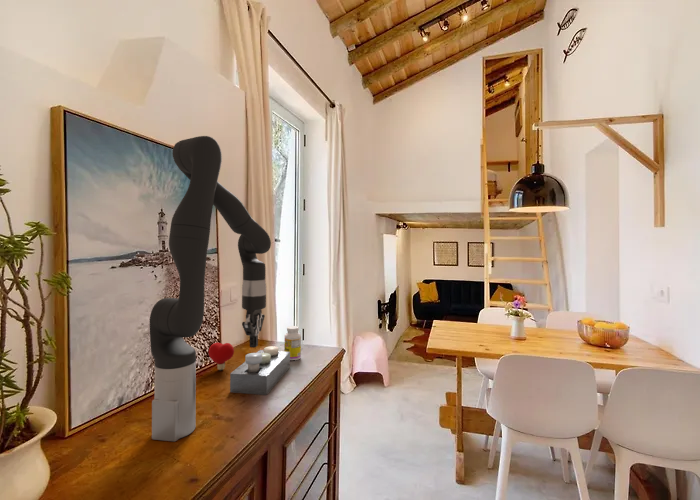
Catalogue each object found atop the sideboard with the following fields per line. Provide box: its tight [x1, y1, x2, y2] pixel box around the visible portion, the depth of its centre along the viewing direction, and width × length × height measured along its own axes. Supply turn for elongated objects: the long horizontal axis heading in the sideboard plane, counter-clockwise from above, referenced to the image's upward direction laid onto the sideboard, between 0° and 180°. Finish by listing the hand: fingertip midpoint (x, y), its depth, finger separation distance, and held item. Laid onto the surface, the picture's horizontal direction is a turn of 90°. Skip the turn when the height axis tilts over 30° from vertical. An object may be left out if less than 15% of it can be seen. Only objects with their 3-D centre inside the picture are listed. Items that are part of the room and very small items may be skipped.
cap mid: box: [259, 353, 271, 364], centre depth 120 cm, size 5×5×5 cm
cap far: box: [263, 345, 279, 357], centre depth 128 cm, size 5×5×5 cm
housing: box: [229, 349, 291, 396], centre depth 120 cm, size 24×12×6 cm, turn 173°
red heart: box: [208, 342, 235, 371], centre depth 128 cm, size 9×7×10 cm
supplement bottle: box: [284, 325, 302, 361], centre depth 142 cm, size 7×7×13 cm
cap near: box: [244, 352, 262, 373], centre depth 112 cm, size 5×5×5 cm
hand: (253, 346), depth 112 cm, fingers closed
